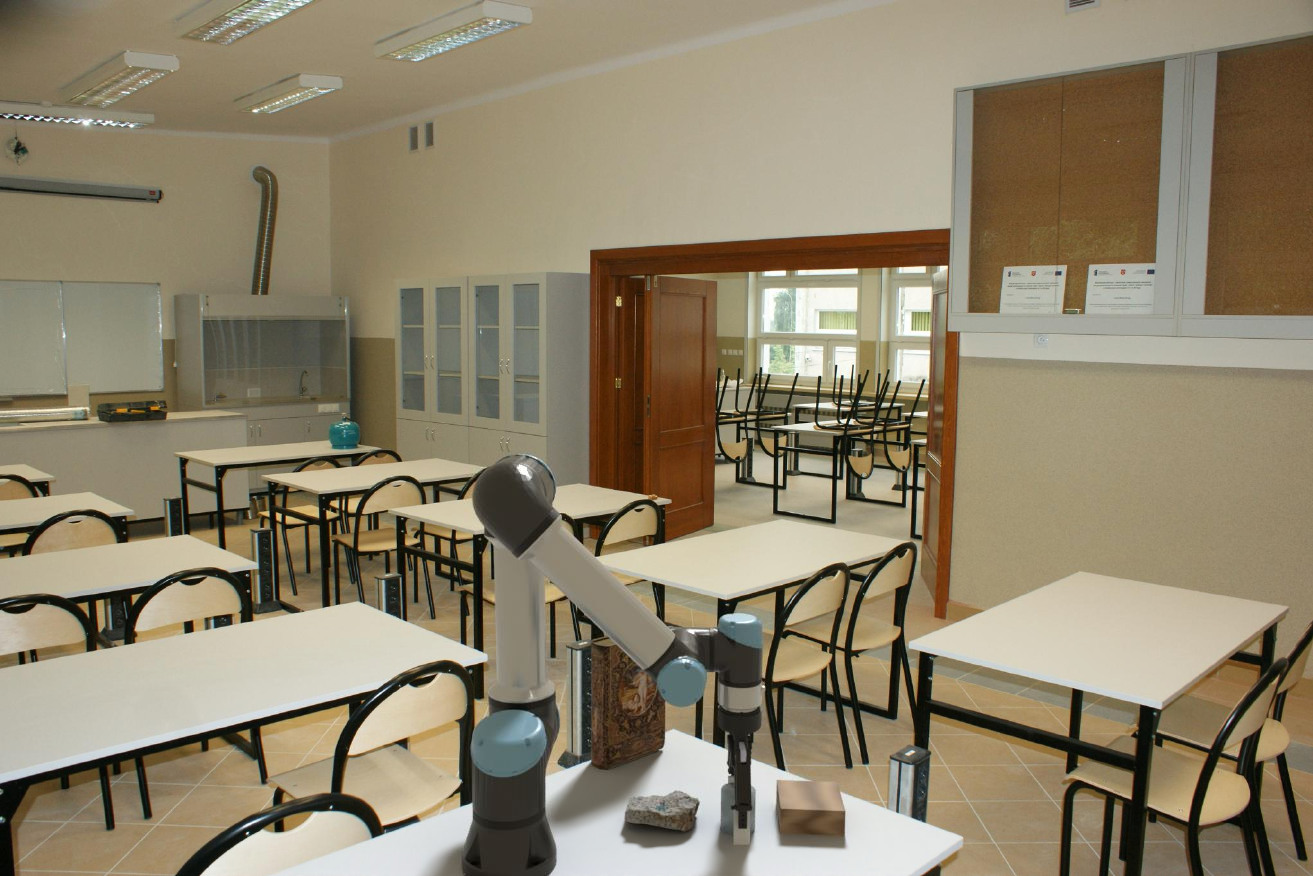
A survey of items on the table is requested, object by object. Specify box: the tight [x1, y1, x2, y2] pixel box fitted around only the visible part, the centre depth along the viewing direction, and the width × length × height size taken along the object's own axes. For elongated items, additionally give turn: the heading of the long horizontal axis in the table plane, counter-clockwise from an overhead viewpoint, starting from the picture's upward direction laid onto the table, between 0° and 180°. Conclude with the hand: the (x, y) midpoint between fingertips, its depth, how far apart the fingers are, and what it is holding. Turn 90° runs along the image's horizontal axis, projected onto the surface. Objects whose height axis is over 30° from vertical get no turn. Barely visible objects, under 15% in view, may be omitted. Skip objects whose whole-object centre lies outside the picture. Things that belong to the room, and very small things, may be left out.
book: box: [590, 635, 666, 770], centre depth 197 cm, size 16×6×25 cm, turn 133°
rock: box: [624, 790, 701, 832], centre depth 170 cm, size 13×10×5 cm
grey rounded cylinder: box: [720, 782, 757, 836], centre depth 168 cm, size 6×6×7 cm
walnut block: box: [775, 779, 846, 837], centre depth 172 cm, size 11×11×5 cm
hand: (738, 827), depth 169 cm, fingers open, 11 cm apart
